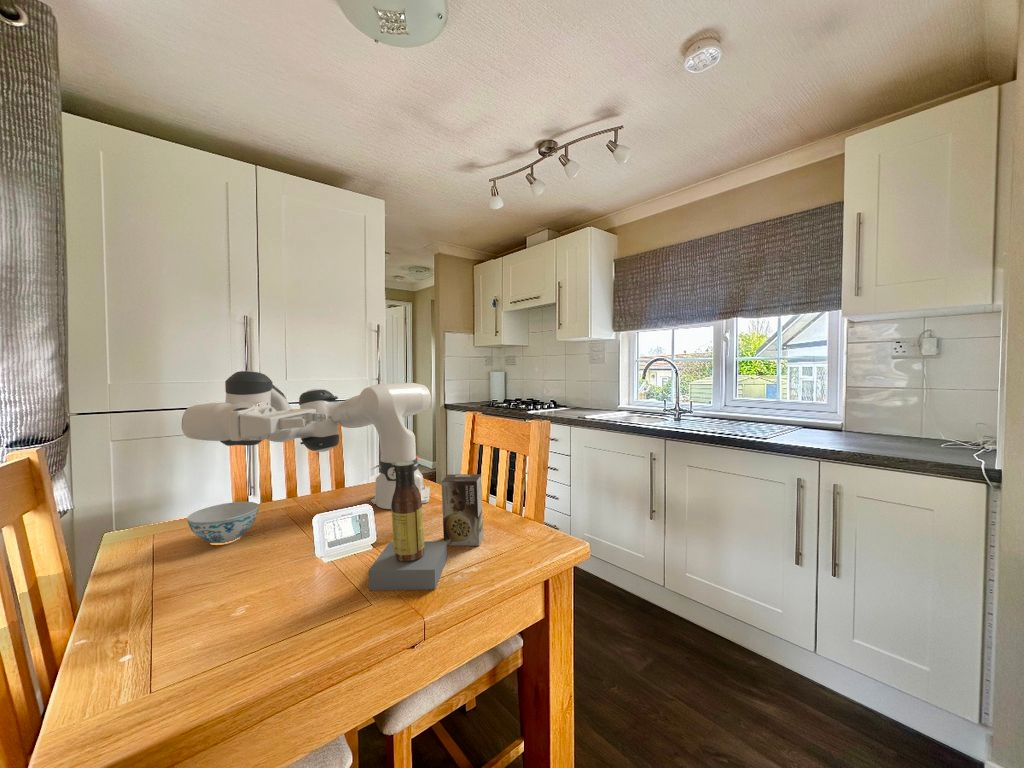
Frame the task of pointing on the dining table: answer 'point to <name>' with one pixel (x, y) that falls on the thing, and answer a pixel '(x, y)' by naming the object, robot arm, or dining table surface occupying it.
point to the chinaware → (223, 521)
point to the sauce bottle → (407, 514)
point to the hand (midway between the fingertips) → (316, 420)
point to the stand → (409, 569)
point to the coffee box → (462, 509)
